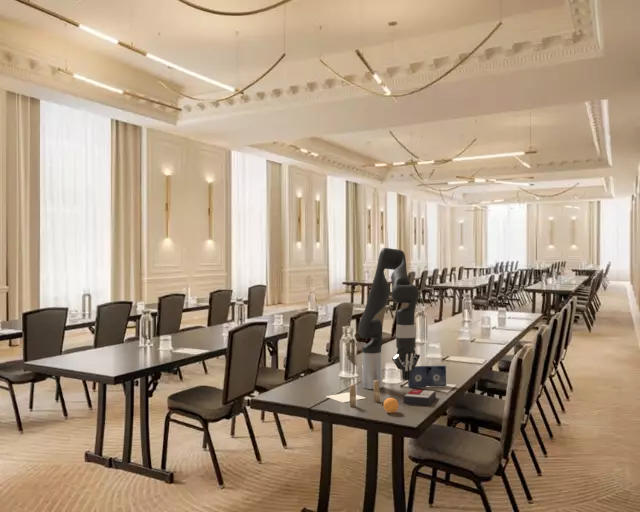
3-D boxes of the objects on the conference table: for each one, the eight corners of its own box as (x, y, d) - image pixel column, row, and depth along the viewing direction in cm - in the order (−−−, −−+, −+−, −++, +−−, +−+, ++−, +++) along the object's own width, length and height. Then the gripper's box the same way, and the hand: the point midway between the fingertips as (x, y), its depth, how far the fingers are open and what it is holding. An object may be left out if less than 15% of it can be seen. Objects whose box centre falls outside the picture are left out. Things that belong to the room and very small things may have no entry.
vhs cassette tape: (445, 385, 275) (444, 365, 275) (446, 387, 272) (446, 366, 272) (407, 386, 275) (407, 366, 275) (408, 388, 272) (408, 367, 272)
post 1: (348, 406, 240) (348, 385, 240) (353, 405, 241) (353, 384, 241) (352, 407, 238) (351, 386, 238) (357, 406, 239) (356, 385, 239)
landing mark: (325, 396, 257) (325, 396, 257) (348, 392, 264) (348, 392, 264) (342, 402, 246) (342, 402, 246) (365, 398, 253) (365, 397, 253)
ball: (380, 412, 230) (380, 397, 230) (391, 409, 233) (391, 395, 233) (390, 415, 225) (390, 400, 225) (401, 413, 228) (401, 398, 228)
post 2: (372, 401, 247) (372, 380, 247) (377, 400, 249) (376, 380, 249) (376, 402, 245) (376, 382, 245) (380, 401, 247) (380, 381, 247)
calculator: (435, 390, 252) (428, 396, 238) (436, 400, 252) (428, 406, 238) (411, 388, 256) (403, 394, 243) (411, 398, 256) (403, 404, 242)
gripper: (411, 333, 228) (412, 376, 228) (386, 336, 221) (387, 380, 221) (424, 335, 222) (425, 379, 222) (399, 338, 214) (400, 384, 214)
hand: (406, 379), depth 221 cm, fingers closed
